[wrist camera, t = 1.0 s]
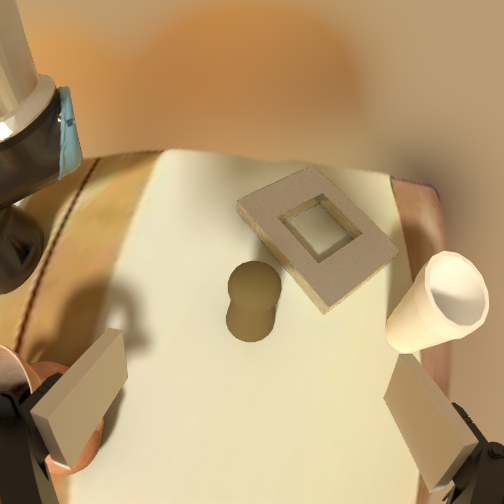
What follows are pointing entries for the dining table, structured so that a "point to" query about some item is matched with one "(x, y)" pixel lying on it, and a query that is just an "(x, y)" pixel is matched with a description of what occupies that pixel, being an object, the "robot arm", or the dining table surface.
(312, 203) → the plate
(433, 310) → the foam cup
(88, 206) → the dining table surface
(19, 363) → the ceramic jug
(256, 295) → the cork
